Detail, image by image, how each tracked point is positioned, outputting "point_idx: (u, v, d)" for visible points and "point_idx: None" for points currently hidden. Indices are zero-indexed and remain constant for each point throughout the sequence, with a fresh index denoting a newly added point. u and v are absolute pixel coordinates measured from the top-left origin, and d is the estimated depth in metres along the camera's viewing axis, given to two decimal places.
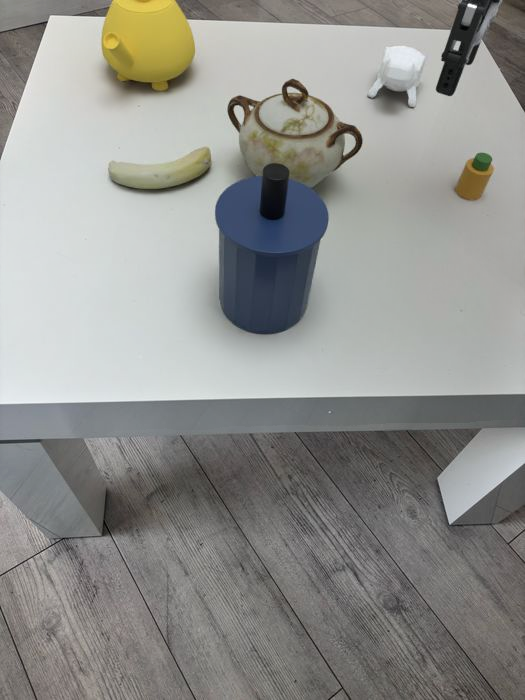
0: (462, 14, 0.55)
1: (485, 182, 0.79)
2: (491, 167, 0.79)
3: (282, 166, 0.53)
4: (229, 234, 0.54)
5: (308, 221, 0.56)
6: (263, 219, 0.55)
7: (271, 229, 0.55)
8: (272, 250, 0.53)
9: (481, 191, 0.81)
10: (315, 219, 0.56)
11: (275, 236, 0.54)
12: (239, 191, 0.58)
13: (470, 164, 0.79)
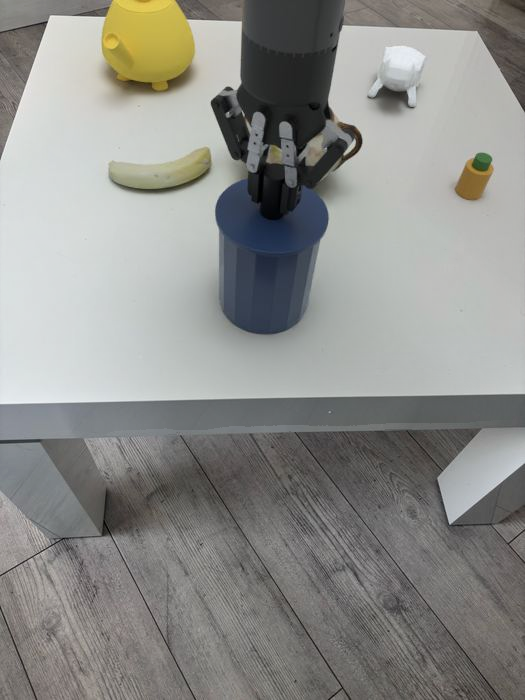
0: None
1: (485, 182, 0.79)
2: (491, 167, 0.79)
3: (282, 166, 0.53)
4: (229, 234, 0.54)
5: (308, 221, 0.56)
6: (263, 219, 0.55)
7: (271, 229, 0.55)
8: (272, 250, 0.53)
9: (481, 191, 0.81)
10: (315, 219, 0.56)
11: (275, 236, 0.54)
12: (240, 191, 0.58)
13: (470, 164, 0.79)
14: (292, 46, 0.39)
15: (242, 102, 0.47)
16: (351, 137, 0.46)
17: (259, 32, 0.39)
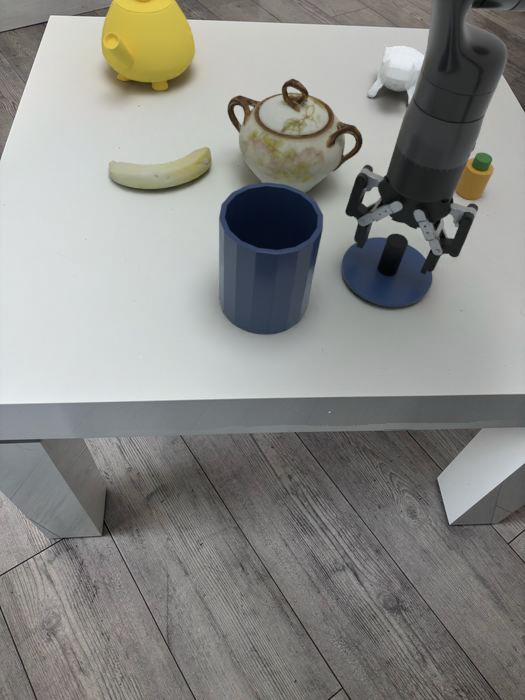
0: None
1: (485, 182, 0.79)
2: (491, 167, 0.79)
3: (402, 236, 0.67)
4: (357, 289, 0.68)
5: (416, 277, 0.70)
6: (381, 275, 0.70)
7: (389, 284, 0.69)
8: (393, 302, 0.67)
9: (481, 191, 0.81)
10: (422, 275, 0.70)
11: (393, 290, 0.68)
12: (359, 251, 0.72)
13: (470, 164, 0.79)
14: (441, 165, 0.53)
15: (383, 192, 0.61)
16: (474, 208, 0.59)
17: (416, 154, 0.53)
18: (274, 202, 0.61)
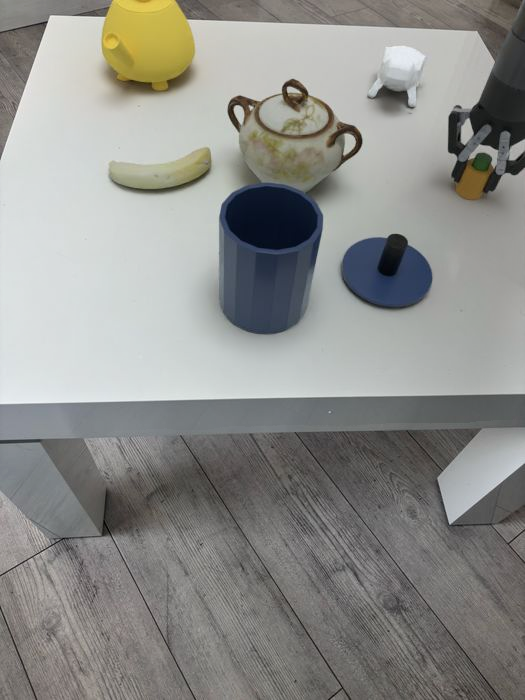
0: None
1: (485, 182, 0.79)
2: (491, 167, 0.79)
3: (402, 236, 0.67)
4: (357, 289, 0.68)
5: (416, 277, 0.70)
6: (381, 275, 0.70)
7: (389, 284, 0.69)
8: (393, 302, 0.67)
9: (481, 191, 0.81)
10: (422, 275, 0.70)
11: (393, 290, 0.68)
12: (359, 251, 0.72)
13: (470, 164, 0.79)
14: None
15: (474, 118, 0.73)
16: None
17: (512, 78, 0.65)
18: (274, 202, 0.61)
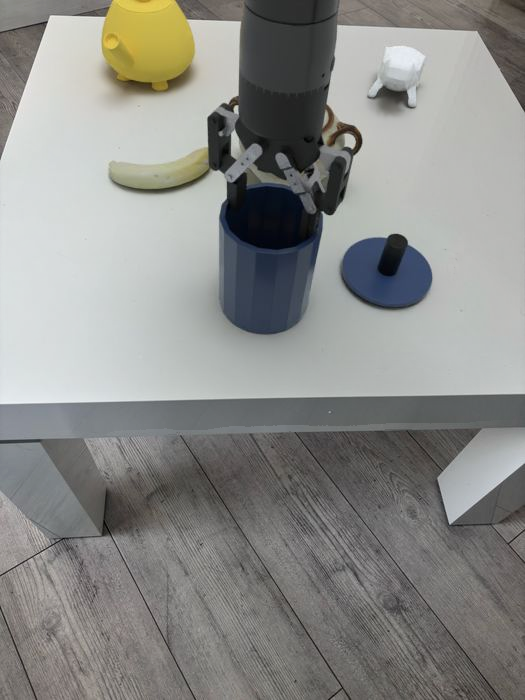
0: None
1: None
2: None
3: (402, 236, 0.67)
4: (357, 289, 0.68)
5: (416, 277, 0.70)
6: (381, 275, 0.70)
7: (389, 284, 0.69)
8: (393, 302, 0.67)
9: None
10: (422, 275, 0.70)
11: (393, 290, 0.68)
12: (359, 251, 0.72)
13: None
14: (286, 87, 0.41)
15: (240, 134, 0.49)
16: (348, 152, 0.47)
17: (255, 74, 0.42)
18: (274, 202, 0.61)
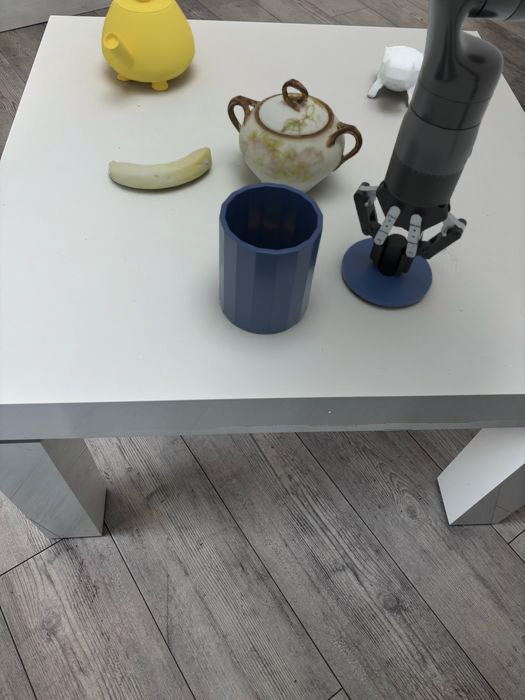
0: None
1: None
2: None
3: (402, 236, 0.67)
4: (357, 288, 0.68)
5: (416, 277, 0.70)
6: (381, 275, 0.70)
7: (389, 284, 0.69)
8: (393, 302, 0.67)
9: None
10: (422, 275, 0.70)
11: (393, 290, 0.68)
12: (359, 251, 0.72)
13: None
14: (438, 171, 0.54)
15: (381, 197, 0.62)
16: (464, 225, 0.61)
17: (414, 160, 0.54)
18: (274, 202, 0.61)
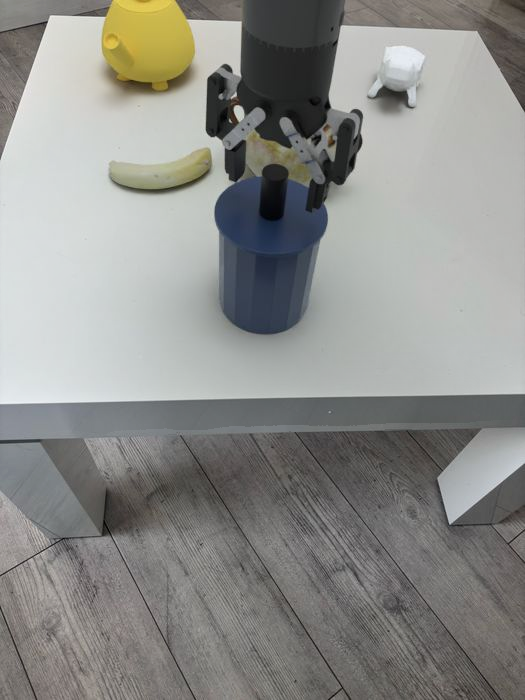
0: None
1: None
2: None
3: (282, 167, 0.53)
4: (228, 235, 0.54)
5: (307, 222, 0.56)
6: (262, 220, 0.55)
7: (270, 230, 0.55)
8: (271, 251, 0.53)
9: None
10: (314, 220, 0.56)
11: (275, 237, 0.54)
12: (239, 192, 0.58)
13: None
14: (292, 40, 0.39)
15: (242, 98, 0.47)
16: (356, 114, 0.45)
17: (259, 26, 0.39)
18: None
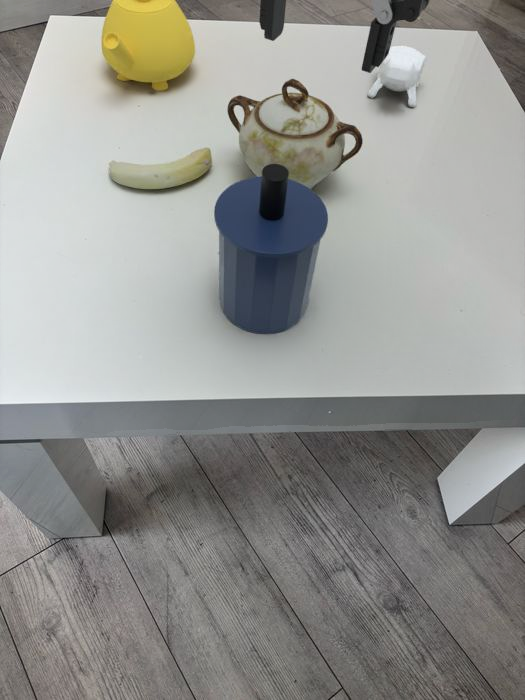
0: None
1: None
2: None
3: (282, 167, 0.53)
4: (228, 235, 0.54)
5: (307, 222, 0.56)
6: (262, 220, 0.55)
7: (270, 230, 0.55)
8: (271, 251, 0.53)
9: None
10: (314, 220, 0.56)
11: (275, 237, 0.54)
12: (239, 192, 0.58)
13: None
14: None
15: None
16: None
17: None
18: None
